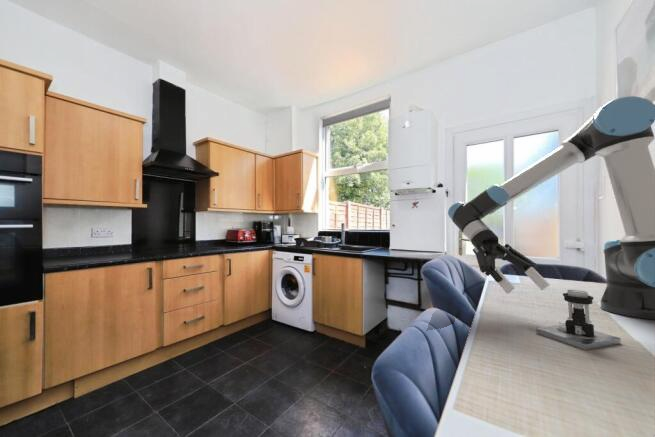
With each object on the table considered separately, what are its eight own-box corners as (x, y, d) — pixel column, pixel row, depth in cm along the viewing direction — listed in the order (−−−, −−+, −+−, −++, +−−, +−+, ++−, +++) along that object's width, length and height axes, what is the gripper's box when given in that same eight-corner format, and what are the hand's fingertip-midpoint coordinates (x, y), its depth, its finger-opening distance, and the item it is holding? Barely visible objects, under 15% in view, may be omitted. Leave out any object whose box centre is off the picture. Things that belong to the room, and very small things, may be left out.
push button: (555, 331, 63) (553, 290, 64) (560, 326, 66) (558, 287, 67) (594, 339, 58) (591, 295, 58) (597, 334, 61) (594, 291, 62)
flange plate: (568, 328, 68) (568, 323, 68) (620, 343, 58) (620, 338, 59) (536, 333, 65) (536, 328, 65) (585, 350, 55) (585, 344, 55)
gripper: (501, 243, 94) (550, 293, 78) (445, 244, 87) (486, 299, 71) (514, 228, 89) (569, 278, 74) (457, 228, 82) (503, 284, 66)
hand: (528, 289), depth 72 cm, fingers open, 13 cm apart
